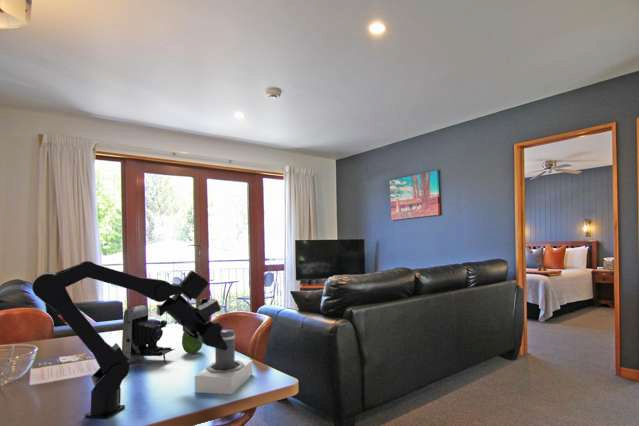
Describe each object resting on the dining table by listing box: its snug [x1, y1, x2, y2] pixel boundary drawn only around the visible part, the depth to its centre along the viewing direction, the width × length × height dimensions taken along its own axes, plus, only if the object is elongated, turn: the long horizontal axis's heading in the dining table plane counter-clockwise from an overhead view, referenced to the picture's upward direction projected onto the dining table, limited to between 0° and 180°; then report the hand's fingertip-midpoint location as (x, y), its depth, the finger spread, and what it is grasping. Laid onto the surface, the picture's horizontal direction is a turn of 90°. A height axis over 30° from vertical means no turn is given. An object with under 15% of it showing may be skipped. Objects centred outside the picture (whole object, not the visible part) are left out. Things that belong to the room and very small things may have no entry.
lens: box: [214, 329, 236, 370], centre depth 113 cm, size 6×6×14 cm
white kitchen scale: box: [194, 358, 254, 395], centre depth 113 cm, size 16×11×5 cm
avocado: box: [181, 331, 203, 355], centre depth 146 cm, size 8×8×12 cm
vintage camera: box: [121, 303, 175, 364], centre depth 137 cm, size 10×16×20 cm, turn 78°
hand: (220, 345), depth 113 cm, fingers open, 9 cm apart
